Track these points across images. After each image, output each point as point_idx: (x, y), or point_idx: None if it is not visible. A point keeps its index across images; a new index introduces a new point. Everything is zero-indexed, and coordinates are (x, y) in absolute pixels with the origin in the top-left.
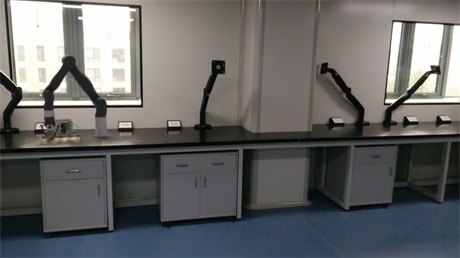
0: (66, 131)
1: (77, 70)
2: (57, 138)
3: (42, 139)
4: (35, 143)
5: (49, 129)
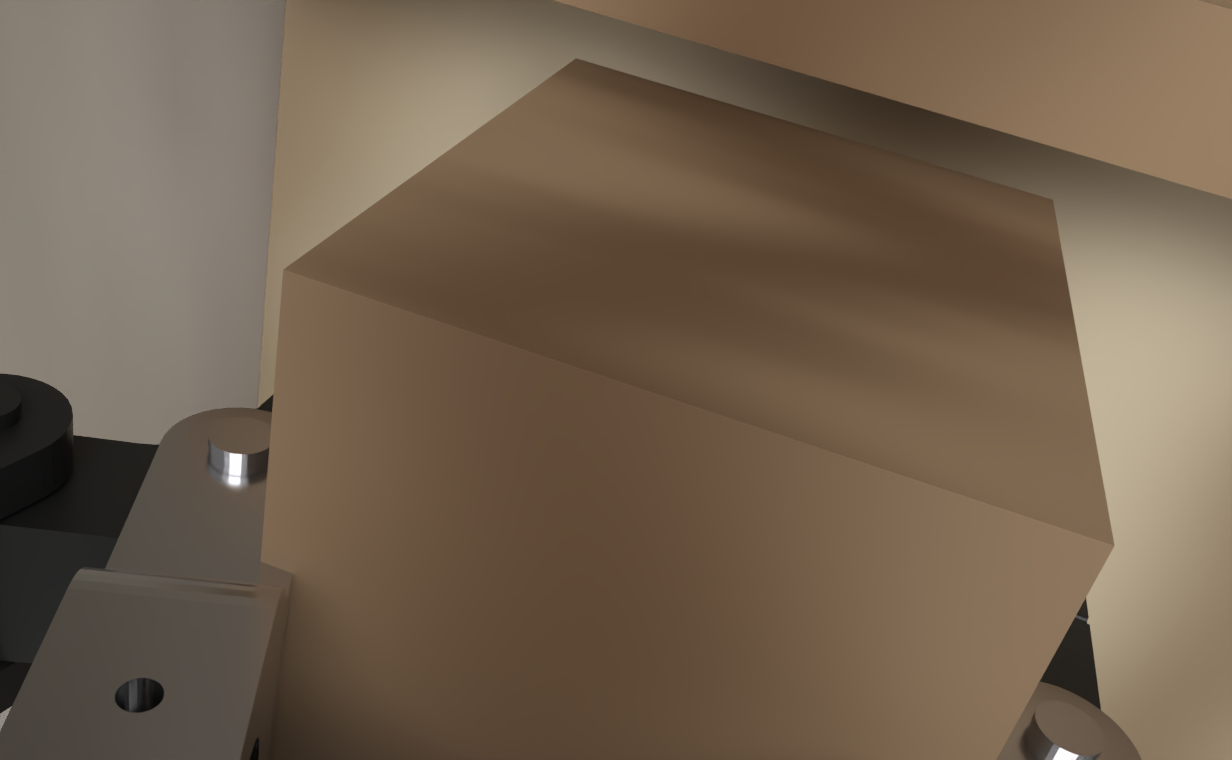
0: None
1: None
2: (1179, 374)
3: (313, 168)
4: (94, 276)
5: (562, 376)
